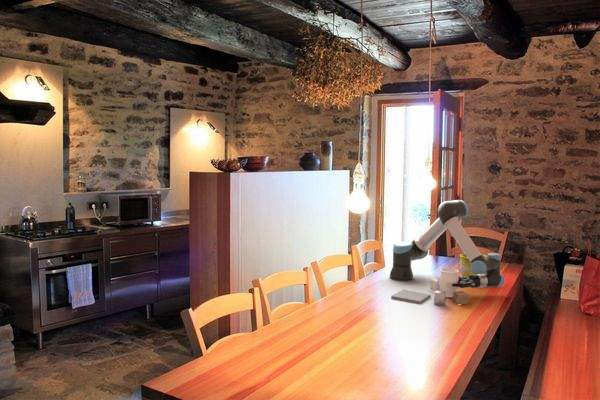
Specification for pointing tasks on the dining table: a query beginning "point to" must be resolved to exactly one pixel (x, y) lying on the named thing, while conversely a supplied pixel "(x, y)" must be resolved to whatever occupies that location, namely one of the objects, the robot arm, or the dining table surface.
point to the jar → (448, 280)
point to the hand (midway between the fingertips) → (441, 282)
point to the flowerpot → (467, 265)
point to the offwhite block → (435, 285)
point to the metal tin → (440, 298)
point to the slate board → (411, 296)
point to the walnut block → (460, 297)
